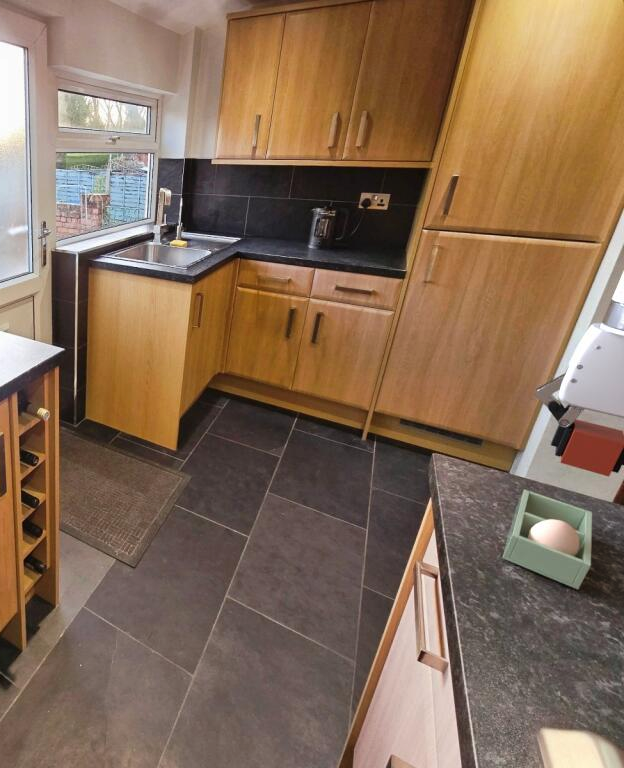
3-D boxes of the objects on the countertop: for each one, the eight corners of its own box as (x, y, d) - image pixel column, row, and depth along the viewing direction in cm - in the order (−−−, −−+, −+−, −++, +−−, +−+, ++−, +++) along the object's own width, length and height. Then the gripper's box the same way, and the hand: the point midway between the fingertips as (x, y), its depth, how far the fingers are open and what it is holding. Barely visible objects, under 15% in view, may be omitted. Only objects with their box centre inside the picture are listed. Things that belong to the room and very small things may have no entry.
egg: (526, 537, 71) (543, 504, 68) (571, 558, 67) (592, 525, 64) (516, 554, 68) (534, 521, 65) (563, 577, 64) (584, 543, 61)
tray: (581, 533, 73) (592, 512, 71) (578, 589, 62) (591, 565, 61) (515, 509, 78) (524, 489, 76) (502, 558, 67) (512, 535, 66)
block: (607, 462, 63) (623, 430, 62) (609, 476, 60) (625, 443, 58) (561, 449, 66) (574, 419, 64) (560, 462, 63) (574, 431, 61)
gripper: (756, 330, 54) (676, 474, 61) (554, 303, 64) (507, 428, 71) (774, 346, 48) (685, 500, 55) (551, 313, 59) (500, 447, 66)
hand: (585, 458), depth 63 cm, fingers closed on block, 4 cm apart
